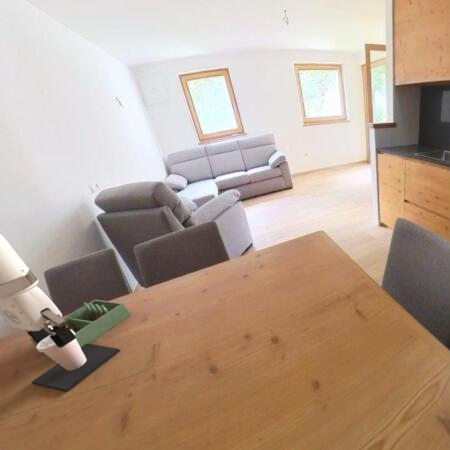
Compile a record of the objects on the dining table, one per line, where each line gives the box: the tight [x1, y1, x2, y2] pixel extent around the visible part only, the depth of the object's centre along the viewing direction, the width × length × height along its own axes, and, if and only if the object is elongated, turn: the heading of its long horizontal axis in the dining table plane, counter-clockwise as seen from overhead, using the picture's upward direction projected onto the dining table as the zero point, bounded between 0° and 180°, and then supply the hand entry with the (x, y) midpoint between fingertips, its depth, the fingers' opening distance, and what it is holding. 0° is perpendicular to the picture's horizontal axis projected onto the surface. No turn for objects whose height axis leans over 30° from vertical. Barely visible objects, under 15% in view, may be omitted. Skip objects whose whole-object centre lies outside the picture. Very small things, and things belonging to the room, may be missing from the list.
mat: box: [31, 343, 121, 393], centre depth 74 cm, size 12×12×1 cm
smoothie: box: [35, 325, 87, 371], centre depth 71 cm, size 6×6×14 cm
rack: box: [28, 299, 131, 348], centre depth 84 cm, size 12×16×7 cm
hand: (56, 340), depth 70 cm, fingers open, 6 cm apart
